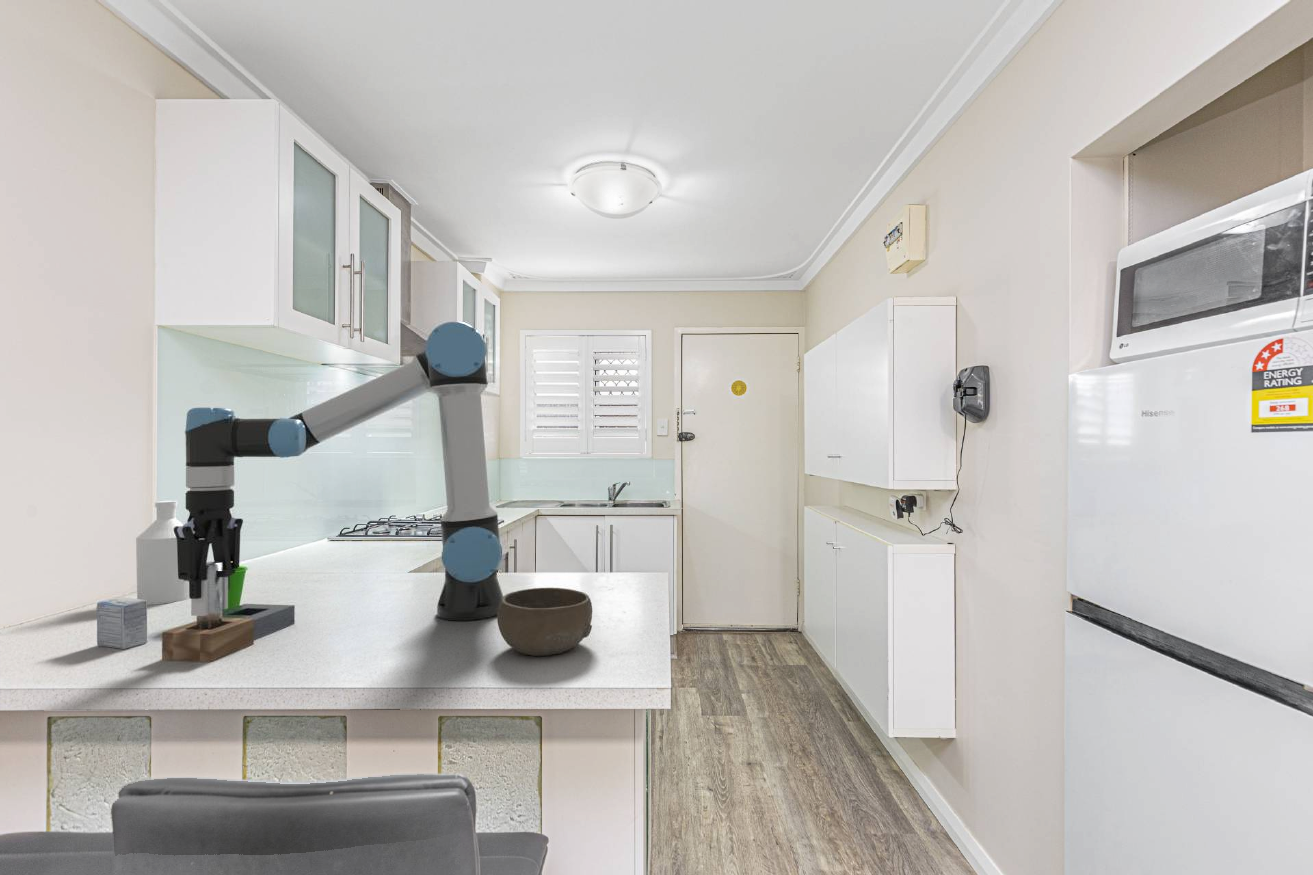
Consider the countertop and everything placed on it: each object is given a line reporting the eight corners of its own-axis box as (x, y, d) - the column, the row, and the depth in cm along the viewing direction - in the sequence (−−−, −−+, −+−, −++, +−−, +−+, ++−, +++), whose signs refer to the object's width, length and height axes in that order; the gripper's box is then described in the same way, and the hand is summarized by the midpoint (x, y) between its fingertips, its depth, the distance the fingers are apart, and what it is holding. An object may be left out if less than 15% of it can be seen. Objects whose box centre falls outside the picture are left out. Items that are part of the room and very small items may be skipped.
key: (199, 638, 120) (200, 561, 121) (237, 639, 119) (237, 561, 119) (181, 645, 116) (181, 565, 117) (219, 646, 115) (220, 565, 116)
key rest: (253, 644, 122) (253, 618, 122) (211, 661, 112) (211, 633, 112) (208, 642, 123) (208, 617, 123) (162, 659, 113) (162, 632, 114)
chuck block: (294, 623, 136) (294, 605, 136) (252, 640, 124) (252, 620, 124) (244, 621, 138) (244, 603, 138) (198, 638, 126) (198, 618, 126)
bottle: (204, 595, 162) (205, 500, 163) (152, 606, 151) (153, 504, 152) (177, 591, 167) (178, 498, 167) (125, 601, 156) (126, 502, 157)
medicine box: (148, 643, 123) (148, 599, 123) (122, 650, 119) (122, 605, 119) (121, 639, 126) (122, 596, 126) (95, 646, 122) (96, 601, 122)
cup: (257, 613, 145) (257, 566, 145) (226, 624, 136) (226, 574, 136) (221, 612, 146) (221, 565, 146) (188, 623, 137) (188, 573, 137)
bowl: (610, 647, 119) (609, 595, 119) (531, 671, 106) (531, 613, 107) (556, 629, 131) (556, 581, 131) (480, 649, 119) (480, 596, 119)
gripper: (228, 485, 127) (228, 600, 127) (151, 492, 110) (150, 624, 110) (262, 485, 126) (261, 601, 126) (188, 492, 109) (188, 625, 109)
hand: (210, 611), depth 118 cm, fingers closed on key, 4 cm apart
